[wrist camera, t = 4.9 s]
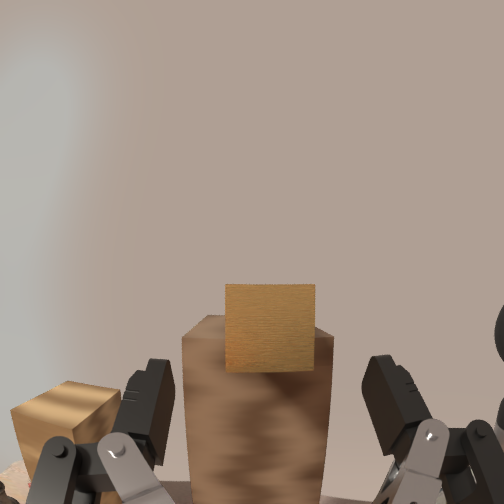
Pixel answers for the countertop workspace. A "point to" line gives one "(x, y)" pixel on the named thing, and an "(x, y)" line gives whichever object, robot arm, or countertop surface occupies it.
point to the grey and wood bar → (269, 328)
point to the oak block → (66, 421)
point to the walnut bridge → (254, 424)
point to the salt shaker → (3, 502)
